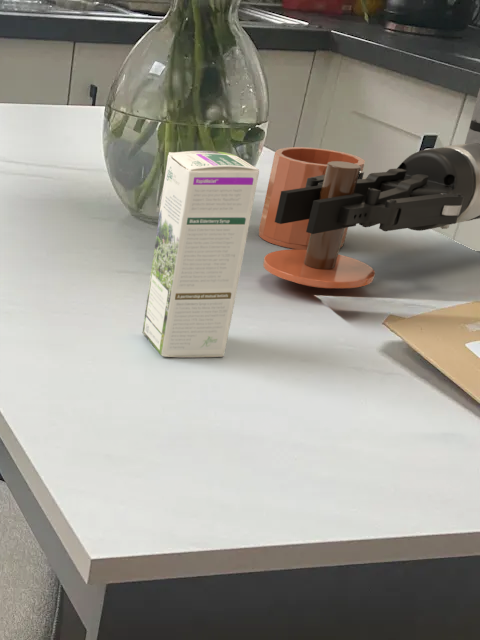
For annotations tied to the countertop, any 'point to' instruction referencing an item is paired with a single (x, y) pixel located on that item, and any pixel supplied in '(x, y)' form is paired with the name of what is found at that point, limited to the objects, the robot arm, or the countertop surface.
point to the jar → (292, 174)
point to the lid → (324, 244)
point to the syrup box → (198, 252)
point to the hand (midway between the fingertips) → (297, 212)
